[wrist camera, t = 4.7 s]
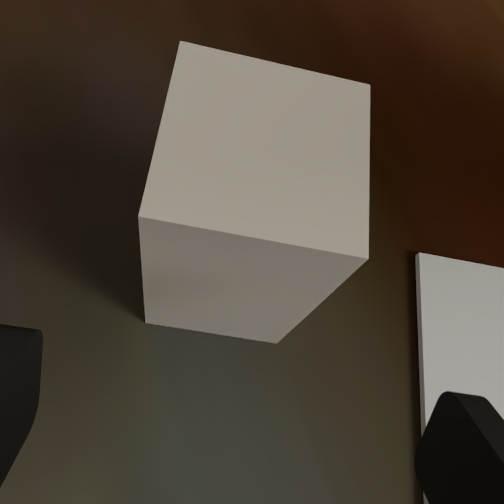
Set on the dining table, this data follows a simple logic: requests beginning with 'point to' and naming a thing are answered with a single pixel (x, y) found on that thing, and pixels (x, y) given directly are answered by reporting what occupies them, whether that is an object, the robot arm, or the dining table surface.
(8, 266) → the dining table surface
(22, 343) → the robot arm
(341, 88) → the beige block
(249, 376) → the dining table surface
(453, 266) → the mat
